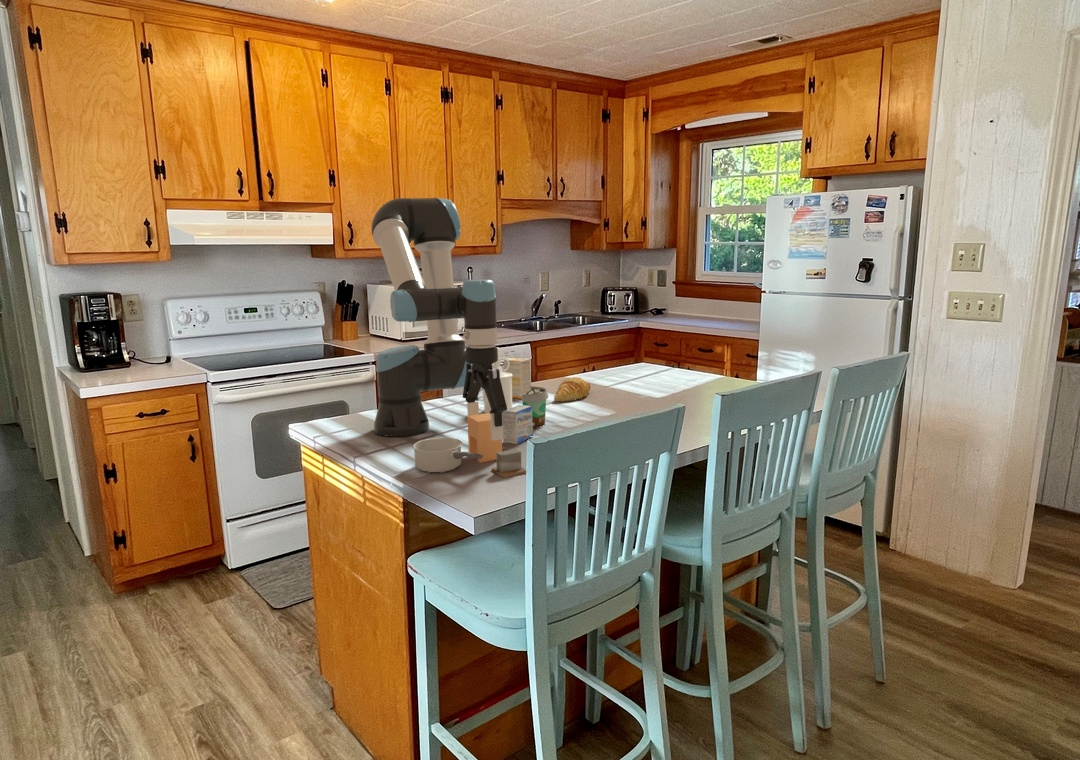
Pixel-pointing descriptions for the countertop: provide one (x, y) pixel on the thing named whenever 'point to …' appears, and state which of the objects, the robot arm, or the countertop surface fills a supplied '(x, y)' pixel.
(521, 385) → the supplement box
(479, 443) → the tall orange brick
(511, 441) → the medicine box
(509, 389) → the white squeeze bottle
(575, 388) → the croissant
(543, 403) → the food container
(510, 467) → the sponge on coaster
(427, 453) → the saucepan
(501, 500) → the countertop surface
